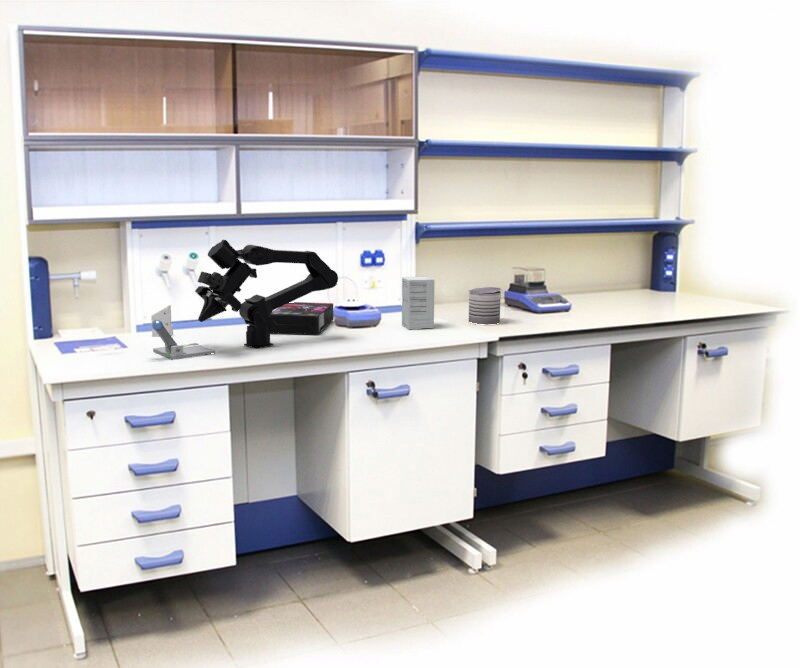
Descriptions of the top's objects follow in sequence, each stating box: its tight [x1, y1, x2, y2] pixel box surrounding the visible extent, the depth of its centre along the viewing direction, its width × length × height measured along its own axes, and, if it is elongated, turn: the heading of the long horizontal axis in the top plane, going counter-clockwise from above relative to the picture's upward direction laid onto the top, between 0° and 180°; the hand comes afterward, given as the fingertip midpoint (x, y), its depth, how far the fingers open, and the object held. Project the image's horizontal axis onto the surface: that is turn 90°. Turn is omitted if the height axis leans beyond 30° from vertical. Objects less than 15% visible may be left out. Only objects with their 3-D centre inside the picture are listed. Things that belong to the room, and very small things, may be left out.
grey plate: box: [150, 304, 174, 338], centre depth 269 cm, size 4×10×9 cm, turn 92°
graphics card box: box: [269, 301, 335, 336], centre depth 286 cm, size 17×7×27 cm
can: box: [468, 286, 502, 325], centre depth 298 cm, size 11×11×12 cm
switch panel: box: [152, 342, 216, 360], centre depth 244 cm, size 13×13×4 cm
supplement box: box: [401, 276, 435, 330], centre depth 287 cm, size 10×9×17 cm
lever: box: [151, 320, 178, 351], centre depth 236 cm, size 3×3×10 cm
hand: (199, 320), depth 242 cm, fingers closed
